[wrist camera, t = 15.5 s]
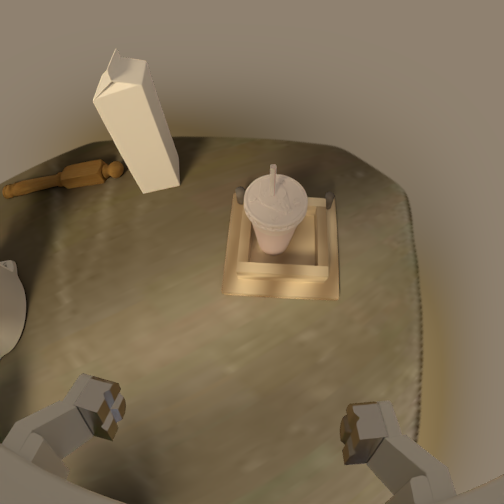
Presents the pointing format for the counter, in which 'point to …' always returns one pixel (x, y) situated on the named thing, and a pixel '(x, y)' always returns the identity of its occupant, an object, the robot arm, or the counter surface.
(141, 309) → the counter surface
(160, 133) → the milk
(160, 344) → the counter surface
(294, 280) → the holder
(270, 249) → the smoothie
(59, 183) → the tap handle
